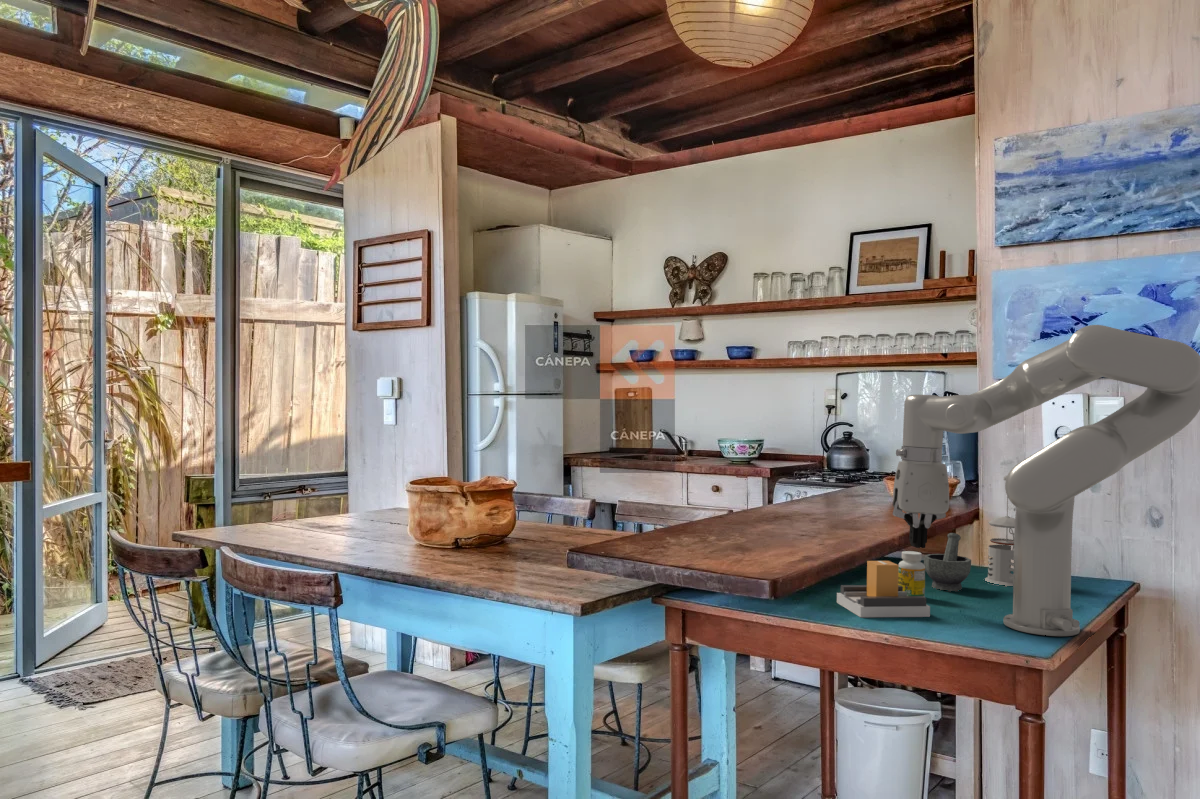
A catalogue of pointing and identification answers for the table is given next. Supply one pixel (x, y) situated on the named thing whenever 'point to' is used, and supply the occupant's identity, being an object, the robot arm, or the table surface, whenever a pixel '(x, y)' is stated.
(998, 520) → the french press
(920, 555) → the supplement bottle
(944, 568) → the mortar and pestle
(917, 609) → the breaker panel
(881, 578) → the orange rectangular block
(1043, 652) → the table surface
